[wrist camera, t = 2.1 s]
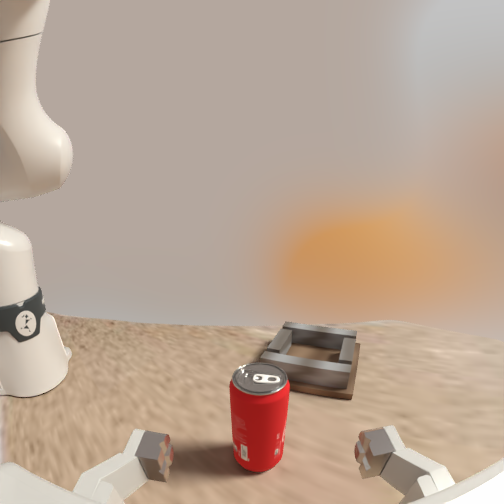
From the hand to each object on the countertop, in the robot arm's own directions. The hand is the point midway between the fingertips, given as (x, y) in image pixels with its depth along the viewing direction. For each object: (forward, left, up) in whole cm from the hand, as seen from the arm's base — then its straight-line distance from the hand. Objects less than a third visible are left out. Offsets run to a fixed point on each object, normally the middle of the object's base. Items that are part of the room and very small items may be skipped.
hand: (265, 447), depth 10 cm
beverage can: (-5, +11, -17) cm, 21 cm away
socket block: (-4, +32, -17) cm, 37 cm away
